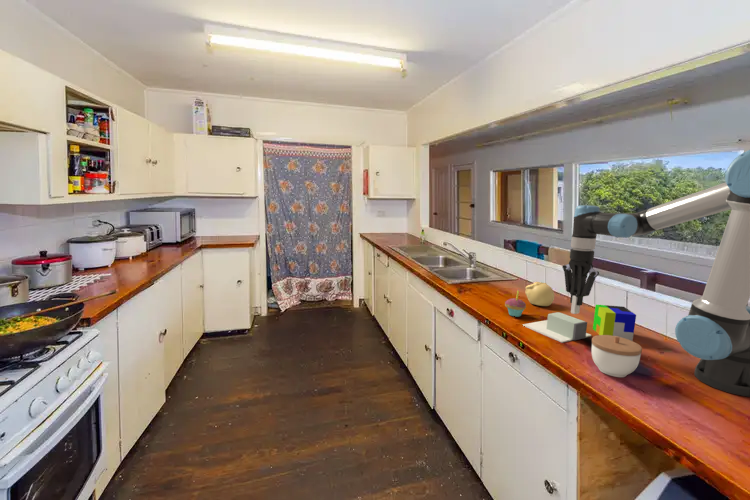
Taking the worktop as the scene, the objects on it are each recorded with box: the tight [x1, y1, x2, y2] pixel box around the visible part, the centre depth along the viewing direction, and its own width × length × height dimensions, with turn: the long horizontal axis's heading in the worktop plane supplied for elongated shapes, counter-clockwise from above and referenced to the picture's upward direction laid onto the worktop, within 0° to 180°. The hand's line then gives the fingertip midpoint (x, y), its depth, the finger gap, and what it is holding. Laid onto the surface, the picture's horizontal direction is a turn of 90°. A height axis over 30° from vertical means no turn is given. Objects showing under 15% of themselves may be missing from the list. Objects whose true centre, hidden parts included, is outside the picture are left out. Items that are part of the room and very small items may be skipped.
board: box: [522, 319, 592, 343], centre depth 146 cm, size 18×16×1 cm
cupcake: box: [504, 289, 527, 318], centre depth 162 cm, size 9×8×12 cm
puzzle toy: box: [592, 304, 637, 342], centre depth 143 cm, size 10×10×10 cm
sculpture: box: [525, 281, 555, 307], centre depth 178 cm, size 12×12×11 cm
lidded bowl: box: [590, 334, 643, 378], centre depth 113 cm, size 13×13×11 cm
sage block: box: [546, 311, 588, 341], centre depth 141 cm, size 6×6×12 cm
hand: (574, 312), depth 138 cm, fingers closed
